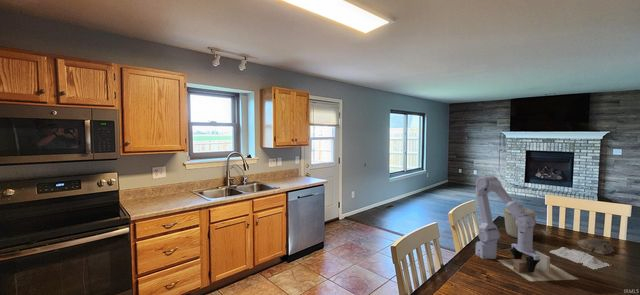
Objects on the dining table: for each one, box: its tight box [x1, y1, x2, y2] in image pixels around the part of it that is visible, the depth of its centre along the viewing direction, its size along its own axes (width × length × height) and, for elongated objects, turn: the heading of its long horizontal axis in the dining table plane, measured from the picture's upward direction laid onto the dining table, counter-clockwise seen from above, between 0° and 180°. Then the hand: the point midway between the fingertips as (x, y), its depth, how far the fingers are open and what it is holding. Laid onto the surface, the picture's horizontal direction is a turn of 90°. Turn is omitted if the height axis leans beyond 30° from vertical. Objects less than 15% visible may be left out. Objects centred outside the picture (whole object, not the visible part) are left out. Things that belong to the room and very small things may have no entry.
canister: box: [502, 204, 538, 239], centre depth 181 cm, size 18×18×21 cm
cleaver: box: [540, 229, 571, 240], centre depth 189 cm, size 29×1×10 cm
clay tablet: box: [577, 237, 615, 256], centre depth 162 cm, size 14×5×20 cm
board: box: [497, 258, 579, 282], centre depth 136 cm, size 24×21×1 cm
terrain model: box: [549, 246, 611, 270], centre depth 150 cm, size 17×23×5 cm
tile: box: [534, 250, 551, 274], centre depth 135 cm, size 2×7×8 cm, turn 3°
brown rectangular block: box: [512, 258, 535, 273], centre depth 134 cm, size 8×4×5 cm, turn 94°
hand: (524, 268), depth 134 cm, fingers open, 7 cm apart
